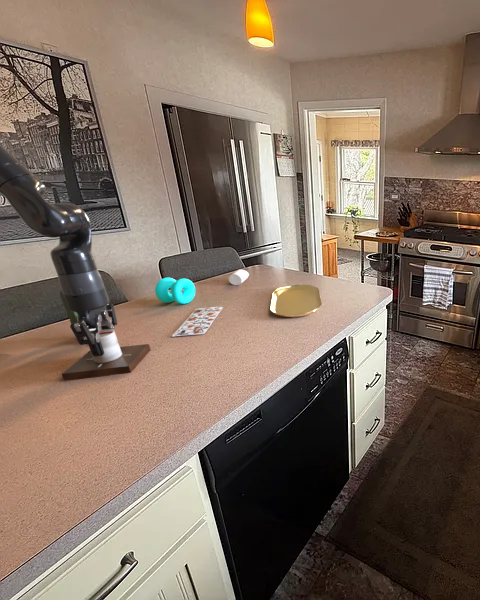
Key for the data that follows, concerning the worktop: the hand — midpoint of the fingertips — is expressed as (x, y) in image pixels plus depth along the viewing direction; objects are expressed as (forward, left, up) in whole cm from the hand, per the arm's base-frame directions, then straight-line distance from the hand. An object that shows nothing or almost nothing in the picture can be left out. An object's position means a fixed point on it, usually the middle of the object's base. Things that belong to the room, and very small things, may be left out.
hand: (105, 349), depth 85 cm
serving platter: (+47, +36, -5) cm, 59 cm away
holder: (0, 0, -5) cm, 5 cm away
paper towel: (+15, +25, -5) cm, 30 cm away
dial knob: (0, 0, -2) cm, 2 cm away
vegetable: (-16, +21, -5) cm, 27 cm away
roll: (+21, +70, -5) cm, 73 cm away
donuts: (+2, +46, -5) cm, 46 cm away
